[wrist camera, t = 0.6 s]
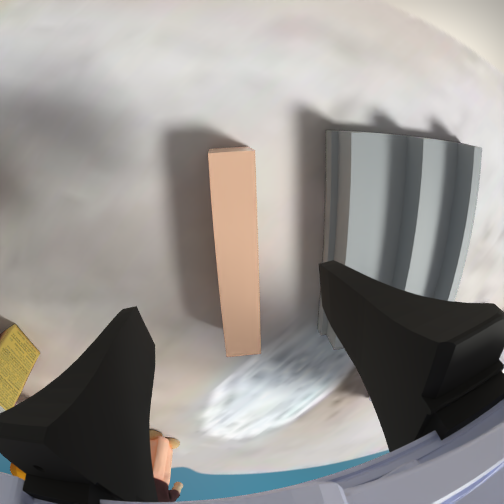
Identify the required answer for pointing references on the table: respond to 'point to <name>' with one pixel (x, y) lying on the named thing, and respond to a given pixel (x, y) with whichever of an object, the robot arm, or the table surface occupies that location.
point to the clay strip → (236, 246)
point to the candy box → (14, 365)
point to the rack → (399, 211)
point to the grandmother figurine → (163, 466)
